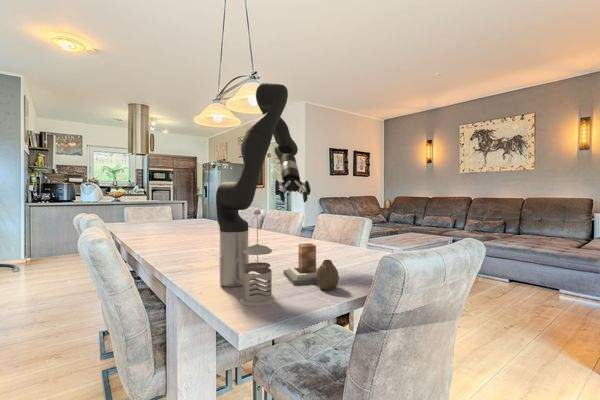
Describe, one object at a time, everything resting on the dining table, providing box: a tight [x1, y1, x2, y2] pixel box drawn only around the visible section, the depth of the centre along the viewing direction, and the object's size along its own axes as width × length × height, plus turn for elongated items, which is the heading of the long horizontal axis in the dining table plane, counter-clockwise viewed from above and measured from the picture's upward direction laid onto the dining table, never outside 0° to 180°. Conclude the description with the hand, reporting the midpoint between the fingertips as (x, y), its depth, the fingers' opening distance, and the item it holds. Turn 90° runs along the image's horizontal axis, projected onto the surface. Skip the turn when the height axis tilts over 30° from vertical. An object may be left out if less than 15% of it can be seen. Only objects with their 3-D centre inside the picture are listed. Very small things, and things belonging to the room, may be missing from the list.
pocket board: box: [283, 264, 320, 286], centre depth 108 cm, size 14×14×3 cm
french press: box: [233, 209, 276, 307], centre depth 85 cm, size 10×12×25 cm
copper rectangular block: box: [298, 242, 317, 274], centre depth 108 cm, size 5×5×10 cm
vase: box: [316, 259, 340, 291], centre depth 96 cm, size 7×7×9 cm
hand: (294, 200), depth 121 cm, fingers open, 8 cm apart
